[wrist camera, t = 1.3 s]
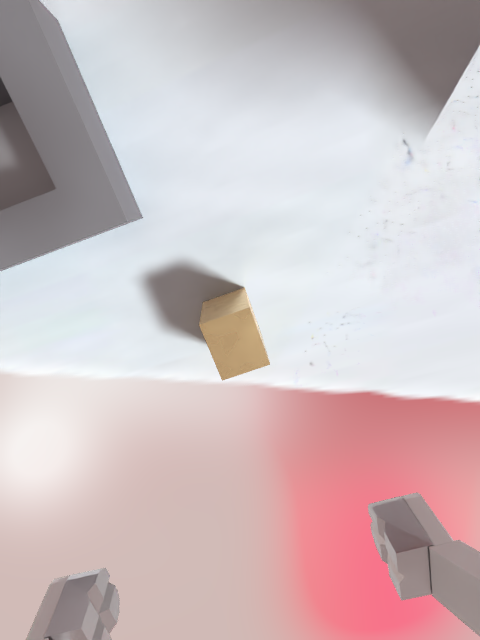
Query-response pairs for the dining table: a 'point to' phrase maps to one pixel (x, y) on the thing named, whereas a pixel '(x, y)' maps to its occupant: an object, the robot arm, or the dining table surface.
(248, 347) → the tan block
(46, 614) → the robot arm
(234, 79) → the dining table surface
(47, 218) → the well
